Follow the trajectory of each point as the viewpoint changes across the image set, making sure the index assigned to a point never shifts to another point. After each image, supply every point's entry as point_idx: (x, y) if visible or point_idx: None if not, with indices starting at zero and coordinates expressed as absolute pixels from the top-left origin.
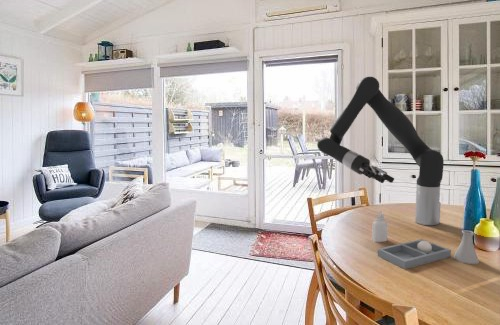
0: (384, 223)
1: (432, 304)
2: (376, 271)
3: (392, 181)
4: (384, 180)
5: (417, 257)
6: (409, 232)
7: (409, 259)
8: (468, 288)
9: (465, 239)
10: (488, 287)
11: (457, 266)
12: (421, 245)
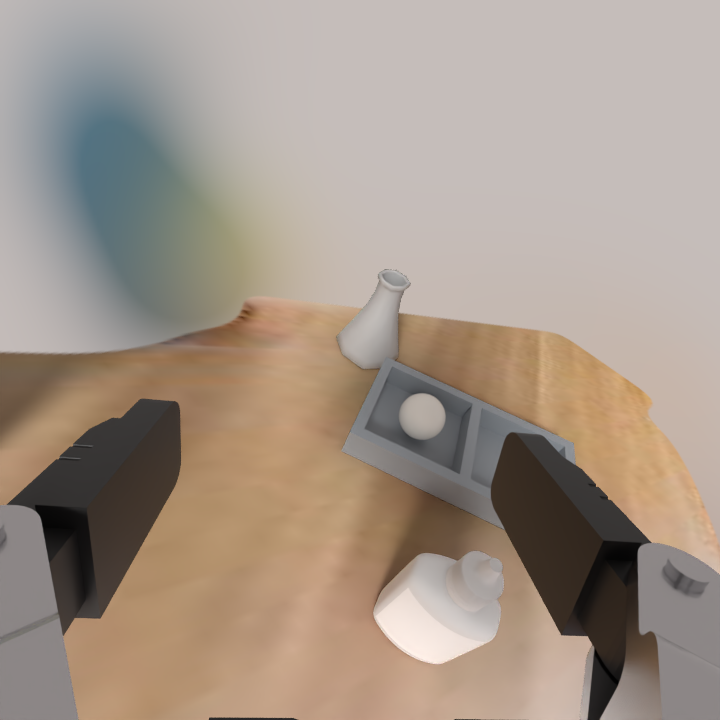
0: (454, 560)
1: (612, 396)
2: (631, 520)
3: (172, 447)
4: (508, 453)
5: (518, 421)
6: (154, 534)
7: (550, 436)
8: (503, 352)
9: (400, 300)
10: (468, 328)
11: (417, 363)
12: (445, 415)
